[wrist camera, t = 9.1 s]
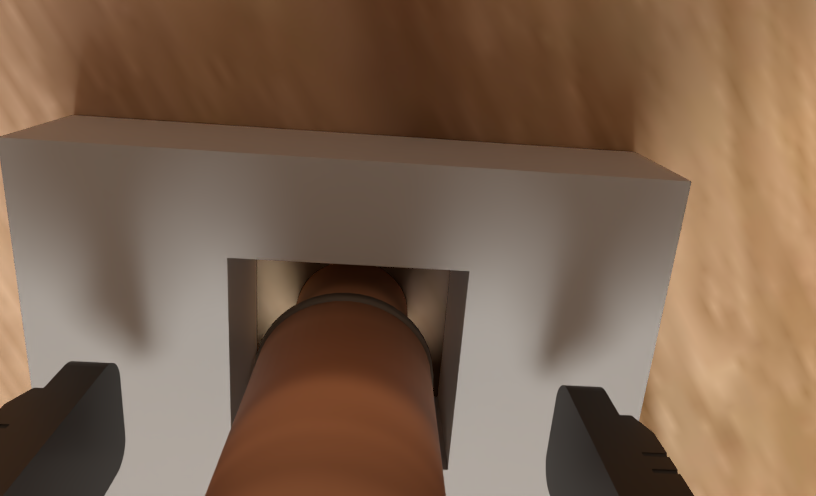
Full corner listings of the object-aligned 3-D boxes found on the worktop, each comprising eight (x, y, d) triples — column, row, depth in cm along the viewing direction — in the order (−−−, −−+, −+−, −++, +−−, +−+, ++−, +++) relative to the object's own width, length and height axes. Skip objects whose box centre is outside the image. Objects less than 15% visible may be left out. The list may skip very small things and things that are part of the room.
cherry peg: (279, 239, 16) (136, 525, 7) (429, 247, 16) (485, 537, 7) (278, 372, 17) (156, 765, 8) (419, 379, 17) (453, 769, 8)
